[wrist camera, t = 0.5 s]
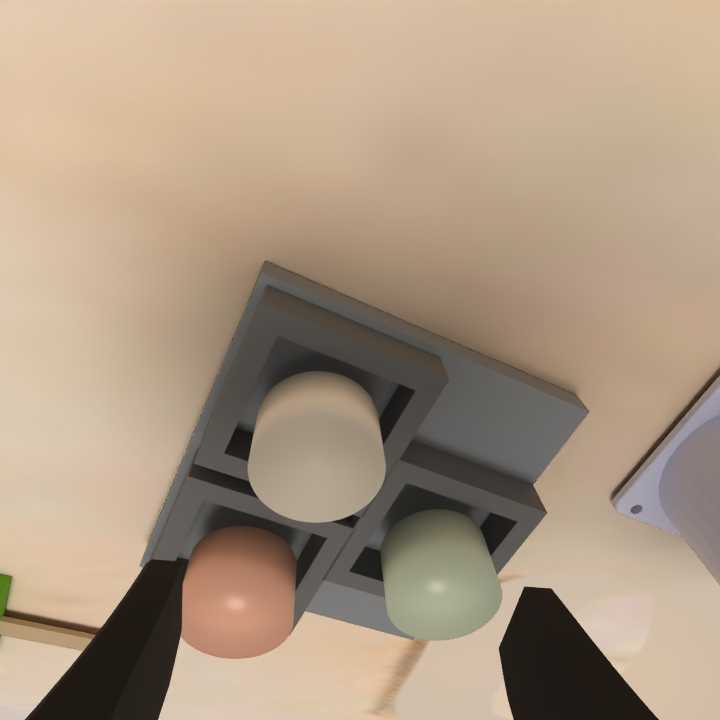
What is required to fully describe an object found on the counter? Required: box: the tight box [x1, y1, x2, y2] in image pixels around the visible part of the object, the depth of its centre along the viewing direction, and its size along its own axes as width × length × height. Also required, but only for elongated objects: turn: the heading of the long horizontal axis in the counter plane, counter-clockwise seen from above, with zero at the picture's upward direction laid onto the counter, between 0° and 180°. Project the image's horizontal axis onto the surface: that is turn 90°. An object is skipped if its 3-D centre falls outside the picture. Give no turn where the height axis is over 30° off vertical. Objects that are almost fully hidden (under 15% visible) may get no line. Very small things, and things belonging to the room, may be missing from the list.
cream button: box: [248, 371, 386, 523], centre depth 17 cm, size 4×4×2 cm
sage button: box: [380, 509, 502, 641], centre depth 20 cm, size 4×4×2 cm
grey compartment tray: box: [140, 261, 589, 640], centre depth 22 cm, size 13×14×3 cm
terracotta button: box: [181, 526, 297, 659], centre depth 20 cm, size 4×4×2 cm
